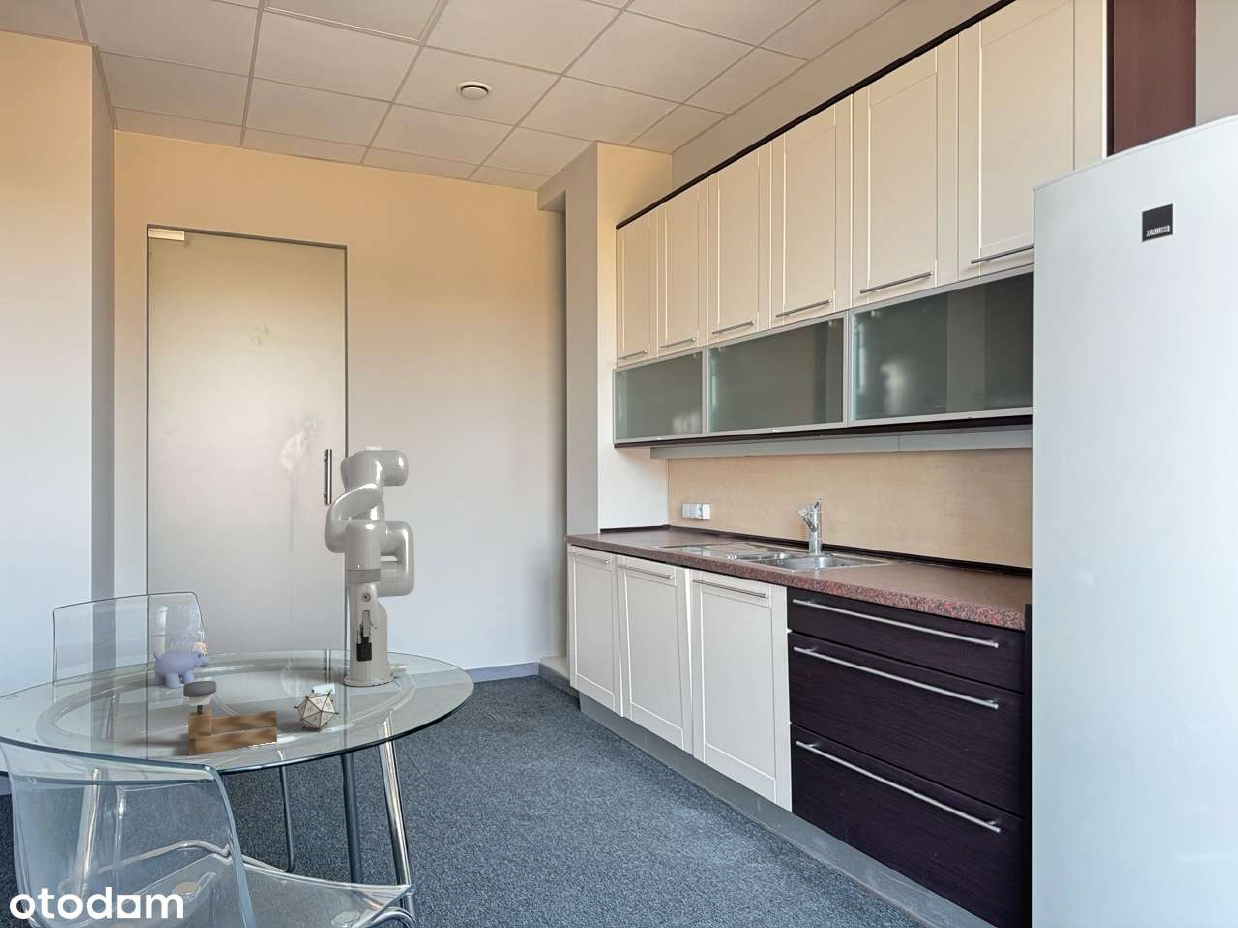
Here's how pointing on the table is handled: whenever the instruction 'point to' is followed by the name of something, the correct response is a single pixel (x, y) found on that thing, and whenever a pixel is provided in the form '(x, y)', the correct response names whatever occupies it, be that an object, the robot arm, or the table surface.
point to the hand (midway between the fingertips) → (364, 660)
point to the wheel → (199, 692)
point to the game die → (316, 710)
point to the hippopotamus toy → (177, 667)
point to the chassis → (205, 726)
